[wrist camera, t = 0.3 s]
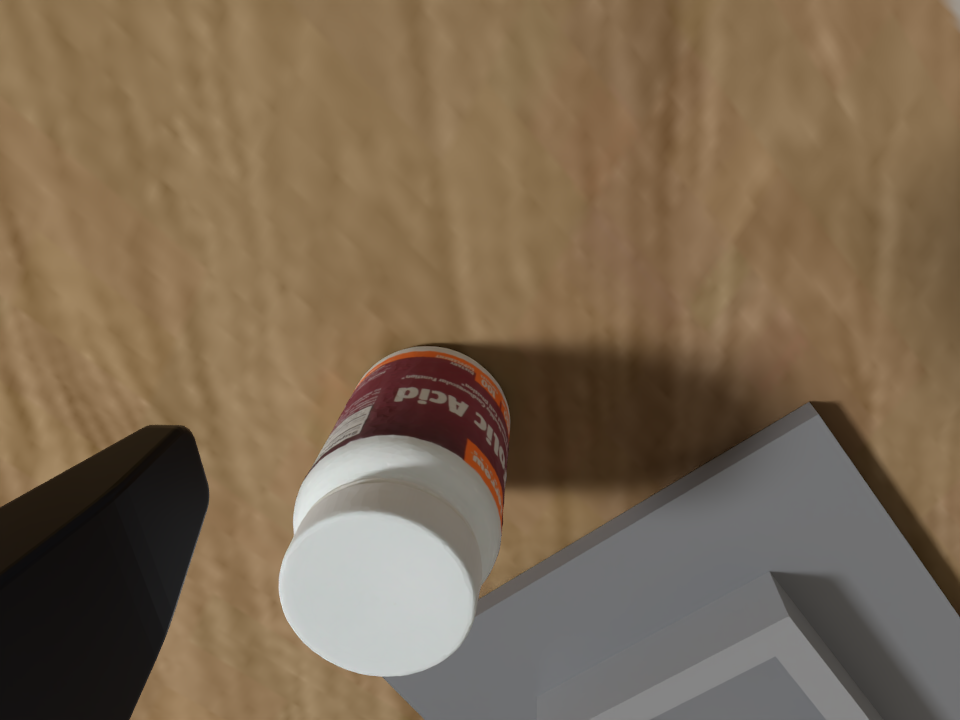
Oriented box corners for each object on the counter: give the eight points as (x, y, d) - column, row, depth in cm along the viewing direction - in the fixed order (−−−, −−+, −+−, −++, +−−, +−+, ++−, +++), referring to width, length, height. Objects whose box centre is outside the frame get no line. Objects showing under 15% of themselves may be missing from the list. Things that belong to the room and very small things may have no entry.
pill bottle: (544, 406, 23) (546, 589, 15) (446, 513, 25) (404, 730, 17) (412, 308, 22) (345, 449, 14) (320, 425, 24) (214, 610, 16)
